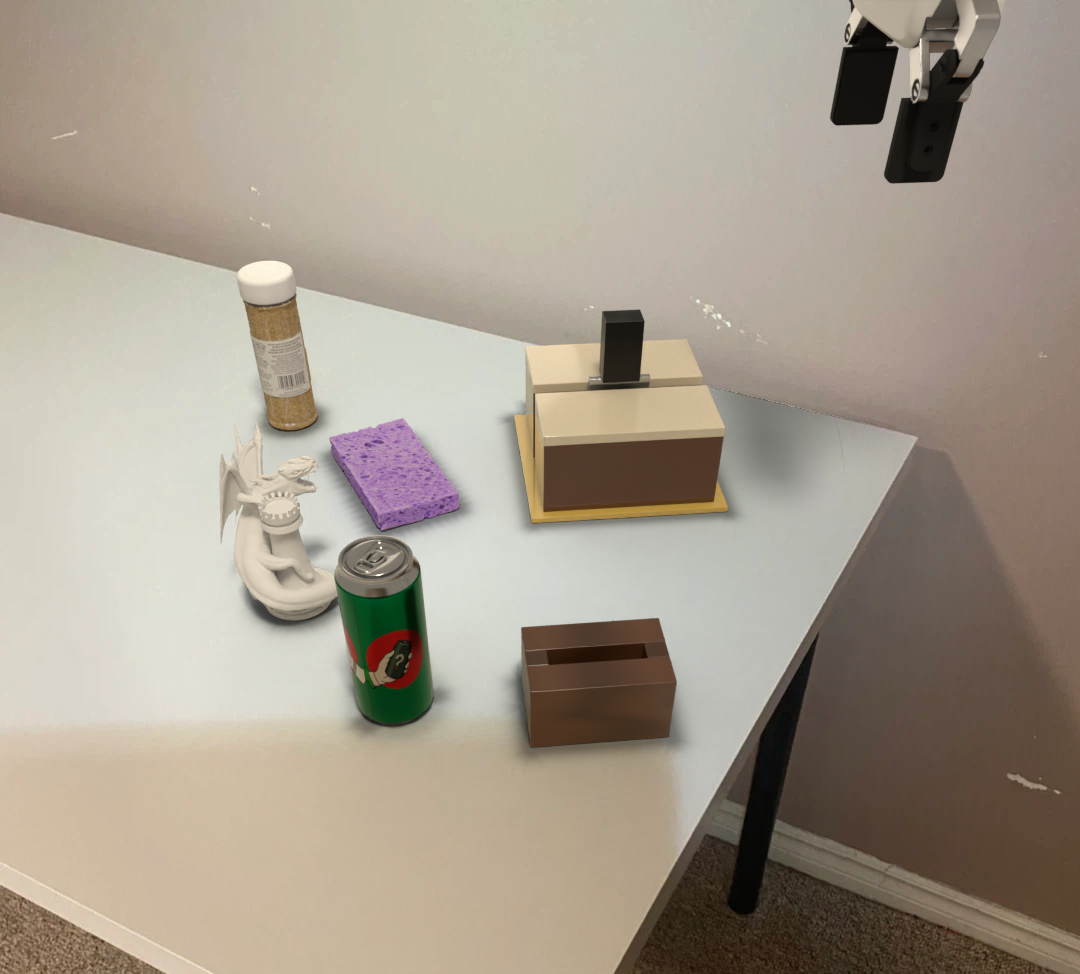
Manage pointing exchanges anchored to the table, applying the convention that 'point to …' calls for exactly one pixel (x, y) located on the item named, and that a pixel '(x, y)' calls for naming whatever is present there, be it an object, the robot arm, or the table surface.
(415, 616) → the soda can
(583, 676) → the knife stand
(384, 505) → the sponge
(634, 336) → the knife
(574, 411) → the cake
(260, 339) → the spice jar
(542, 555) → the table surface
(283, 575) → the figurine
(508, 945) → the table surface
